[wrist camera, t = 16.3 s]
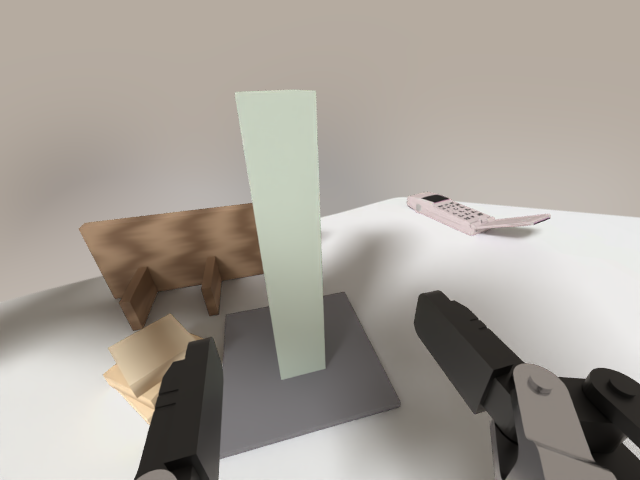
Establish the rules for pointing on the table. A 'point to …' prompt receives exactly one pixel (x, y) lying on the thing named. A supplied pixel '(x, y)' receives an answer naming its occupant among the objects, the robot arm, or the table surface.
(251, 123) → the sage green pillar
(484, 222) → the mobile phone
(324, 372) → the charcoal mat
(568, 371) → the table surface
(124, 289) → the walnut rack
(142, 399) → the offcut stack
